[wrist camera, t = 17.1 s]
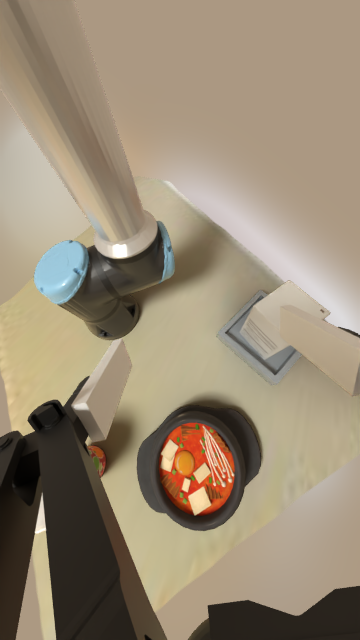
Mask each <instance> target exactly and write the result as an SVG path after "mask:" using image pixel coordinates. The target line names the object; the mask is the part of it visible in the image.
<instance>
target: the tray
mask: <svg viewBox="0 0 360 640" xmlns="http://www.w3.org/2000/svg"><path fill="white" fill-rule="evenodd" d="M266 296H268V295H267V294H266V293H264V292H263V291H261V290H260V291H259V292H258V293H257V294H256V295H255V296H254V297H253V298H252V299H251V300H250V301H249V302H248V303H247V304H246V305H245V306H244V307H243V308H242V309H241V310H240V311H239V312H238V313H237V314H236V315H235V316H234V317H233V318H232V319H231V320H230V321H229V322H228V323H227V324H226V325H225V326H224V327H223V328H222V329H221V330H220V331H219V332H218V333H217V338H218V339H219V340H220V341H222V342H223V343H224V344H225V345H226V346H227V347H228V348H230V349H231V350H232V351H233V352H234V353H235V354H236V355H238V356H239V357H240V358H241V359H242V360H243V361H244V362H245V363H247V364H248V365H249V366H250V367H251V368H252V369H253V370H255V371H256V372H257V373H258V374H259V375H260V376H261V377H263V378H264V379H265V380H266V381H267V382H268V383H269V384H270V385H276V384H278V383H279V381H280V380H281V379H282V378H283V377H284V375H285V374H286V373H287V372H288V371H289V369H290V368H291V367H292V366H293V365H294V364H295V362H296V361H297V360H298V359H299V358H300V356H301V355H302V354H301V353H300V352H298V351H297V350H296V349H295V348H294V347H292V346H291V345H290V346H288V347H286V348H285V349H283V350H281V351H279V352H278V353H276V354H274V355H273V356H271V357H269V358H268V359H266V360H264V359H263V358H262V357H261V356H260V354H259V353H258V352H257V351H256V350H255V349H254V348H253V347H252V346H251V345H250V344H249V343H248V342H247V340H246V339H245V338H244V337H243V336H242V335H241V334H240V330H241V328H242V327H243V325H244V323H245V321H246V319H247V317H248V315H249V314H250V312H251V310H252V308H253V306H254V305H255V304H257V303H258V302H259V301H261V300H262V299H263V298H265V297H266Z"/></svg>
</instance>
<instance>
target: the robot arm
mask: <svg viewBox="0 0 360 640" xmlns="http://www.w3.org/2000/svg"><path fill="white" fill-rule="evenodd" d="M0 90H1V92H2V93H3V95H4V96H5V98H6V99H7V101H8V102H9V104H10V105H11V107H12V108H13V110H14V111H15V112H16V114H17V115H18V117H19V118H20V120H21V121H22V123H23V124H24V126H25V127H26V129H27V130H28V132H29V133H30V135H31V136H32V138H33V139H34V140H35V142H36V143H37V145H38V147H39V148H40V150H41V151H42V152H43V154H44V155H45V157H46V159H47V160H48V161H49V163H50V164H51V166H52V167H53V169H54V170H55V172H56V173H57V175H58V176H59V178H60V179H61V180H62V182H63V184H64V185H65V187H66V188H67V189H68V191H69V193H70V194H71V196H72V197H73V199H74V200H75V202H76V203H77V204H78V206H79V207H80V209H81V210H82V212H83V213H84V215H85V216H86V218H87V219H88V221H89V222H90V224H91V225H92V227H93V228H94V230H95V234H94V244H95V245H93V246H91V247H88V248H86V247H85V246H84V245H83V244H81V243H80V242H78V241H72V240H67V241H63V242H61V243H58V244H56V245H55V246H53V247H52V248H50V249H49V250H48V251H47V252H46V253H45V254H44V255H43V256H42V258H41V260H40V261H39V262H38V264H37V266H36V269H35V273H34V282H35V285H36V287H37V289H38V290H39V291H40V292H41V293H42V294H43V295H44V296H46V297H47V298H49V299H50V300H51V301H52V302H53V303H55V304H57V305H59V306H61V307H62V308H64V309H66V310H67V311H69V312H71V313H72V314H74V315H76V316H77V317H79V318H81V319H82V320H84V322H85V324H86V325H87V327H88V329H89V330H90V331H91V332H92V333H93V334H94V335H96V336H97V337H99V338H101V339H105V340H113V342H112V344H111V345H110V347H109V348H108V350H107V351H106V353H105V354H104V356H103V357H102V359H101V360H100V362H99V363H98V365H97V366H96V368H95V369H94V371H93V373H92V374H91V376H88V377H86V378H85V379H84V380H83V381H82V382H80V384H79V385H78V387H77V388H76V390H75V391H74V392H73V395H71V397H70V398H69V400H68V401H67V402H66V404H65V405H64V407H63V406H62V405H61V403H60V402H59V401H58V400H51V401H48V402H46V403H44V404H42V405H41V406H39V407H38V408H36V409H35V410H34V411H33V412H32V413H31V414H30V416H29V417H28V422H29V423H30V425H31V426H32V427H33V429H34V430H35V432H32V433H30V434H28V435H25V436H22V434H21V433H20V432H19V431H13V432H10V433H8V434H6V435H4V436H2V437H0V640H15V639H16V633H17V628H18V623H19V617H20V612H21V606H22V601H23V595H24V590H25V584H26V579H27V573H28V568H29V562H30V557H31V552H32V546H33V541H34V535H35V530H36V524H37V519H38V513H39V508H40V502H41V497H42V494H43V505H44V515H45V526H46V536H47V546H48V557H49V567H50V578H51V588H52V599H53V609H54V620H55V630H56V640H167V638H166V636H165V634H164V631H163V629H162V627H161V625H160V622H159V621H158V619H157V617H156V615H155V613H154V611H153V609H152V607H151V604H150V602H149V600H148V597H147V595H146V592H145V590H144V587H143V585H142V582H141V580H140V577H139V575H138V572H137V570H136V567H135V565H134V562H133V560H132V557H131V555H130V552H129V550H128V547H127V545H126V542H125V539H124V537H123V534H122V532H121V529H120V527H119V524H118V522H117V519H116V517H115V514H114V512H113V509H112V507H111V504H110V502H109V499H108V497H107V494H106V492H105V489H104V487H103V484H102V482H101V479H100V477H99V474H98V472H97V469H96V467H95V464H94V462H93V459H92V457H91V454H90V452H89V449H88V446H87V445H86V443H85V441H86V439H87V437H88V435H89V437H90V439H91V440H92V442H96V441H102V440H106V438H107V436H108V433H109V430H110V427H111V424H112V422H113V419H114V416H115V413H116V410H117V407H118V405H119V402H120V399H121V396H122V393H123V390H124V388H125V385H126V382H127V379H128V376H129V374H130V371H131V368H132V363H131V360H130V358H129V355H128V352H127V350H126V347H125V344H124V342H123V339H119V338H121V337H123V336H125V335H126V334H128V333H129V332H130V331H131V330H132V329H133V328H134V326H135V325H136V323H137V320H138V317H139V307H138V304H137V302H136V301H135V299H134V298H133V297H132V296H131V295H130V294H132V293H135V292H137V291H140V290H143V289H145V288H148V287H151V286H153V285H156V284H160V283H161V282H162V281H164V280H166V279H168V278H170V277H172V275H173V274H174V271H175V260H174V254H173V250H172V246H171V241H170V238H169V235H168V232H167V230H166V228H165V226H164V224H163V223H162V222H161V221H156V220H155V218H154V216H153V215H152V214H151V213H149V212H148V211H145V210H143V207H142V204H141V201H140V198H139V195H138V192H137V189H136V186H135V182H134V179H133V177H132V173H131V170H130V168H129V164H128V162H127V159H126V155H125V152H124V149H123V146H122V143H121V140H120V137H119V134H118V131H117V128H116V125H115V122H114V119H113V116H112V113H111V110H110V107H109V104H108V101H107V98H106V94H105V91H104V88H103V85H102V82H101V79H100V76H99V73H98V70H97V67H96V64H95V61H94V58H93V55H92V52H91V49H90V46H89V43H88V40H87V37H86V34H85V30H84V28H83V25H82V21H81V19H80V16H79V12H78V9H77V6H76V3H75V0H0ZM280 337H281V338H283V339H284V340H285V341H286V342H287V343H289V344H290V345H291V346H292V347H294V348H295V349H296V350H297V351H298V352H300V353H301V354H302V355H303V356H304V357H306V358H307V359H308V360H309V361H310V362H312V363H313V364H314V365H315V366H316V367H318V368H319V369H320V370H321V371H322V372H324V373H325V374H326V375H327V376H329V377H330V378H331V379H332V380H333V381H335V382H336V383H337V384H338V385H339V386H341V387H342V388H343V389H344V390H345V391H347V392H348V393H349V394H350V395H351V396H356V395H360V335H358V333H355V332H353V331H351V330H349V329H345V328H341V327H335V326H334V325H332V324H330V323H327V322H325V321H323V320H321V319H319V318H317V317H315V316H313V315H311V314H309V313H307V312H305V311H303V310H301V309H298V308H296V307H294V306H292V305H285V306H280ZM115 339H118V340H115ZM208 613H209V618H208V619H207V620H205V621H204V622H203V623H201V625H200V626H199V627H198V628H197V629H196V630H195V631H194V632H193V633H192V635H191V636H190V637H189V639H188V640H360V586H356V587H348V588H340V589H335V590H333V591H332V592H331V593H329V594H328V595H327V596H325V597H324V598H323V599H321V600H320V601H319V602H318V603H316V604H315V605H314V606H312V607H311V608H310V609H308V610H307V611H306V612H304V613H303V614H302V615H299V616H294V615H291V614H288V613H285V612H282V611H279V610H276V609H273V608H270V607H267V606H264V605H261V604H258V603H255V602H252V601H249V600H245V601H237V602H230V603H222V604H214V605H208Z"/></svg>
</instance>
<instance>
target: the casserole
mask: <svg viewBox="0 0 360 640" xmlns="http://www.w3.org/2000/svg"><path fill="white" fill-rule="evenodd" d="M260 466H261V455H260V449H259V444H258V442H257V439H256V436H255V434H254V432H253V430H252V428H251V426H250V425H249V423H248V422H247V421H246V419H245V418H244V417H243V416H242V415H241V414H240V413H239V412H237V411H235V410H233V409H214V408H209V407H204V406H199V405H193V406H186V407H182V408H180V409H178V410H176V411H174V412H173V413H172V414H170V415H169V416H168V417H167V418H166V419H165V420H164V422H163V423H162V424H161V425H160V427H159V428H158V429H157V430H156V431H155V432H154V433H153V434H151V435H150V436H149V437H148V438H147V439H145V440H144V441H143V443H142V444H141V446H140V448H139V452H138V457H137V474H138V481H139V485H140V489H141V491H142V494H143V496H144V498H145V500H146V502H147V503H148V505H149V506H150V507H151V508H152V509H153V510H155V511H156V512H159V513H166V514H167V515H168V516H169V517H170V518H171V519H173V520H174V521H175V522H176V523H178V524H180V525H181V526H183V527H185V528H188V529H192V530H198V531H206V530H210V529H215V528H217V527H218V526H220V525H222V524H224V523H225V522H226V521H227V520H228V519H229V518H230V517H232V516H233V514H234V513H235V511H236V509H237V508H238V506H239V504H240V502H241V499H242V497H243V493H244V488H245V486H246V485H247V484H248V483H249V482H250V481H251V480H252V479H253V478H254V477H255V476H256V475H257V474H258V472H259V469H260Z"/></svg>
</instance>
